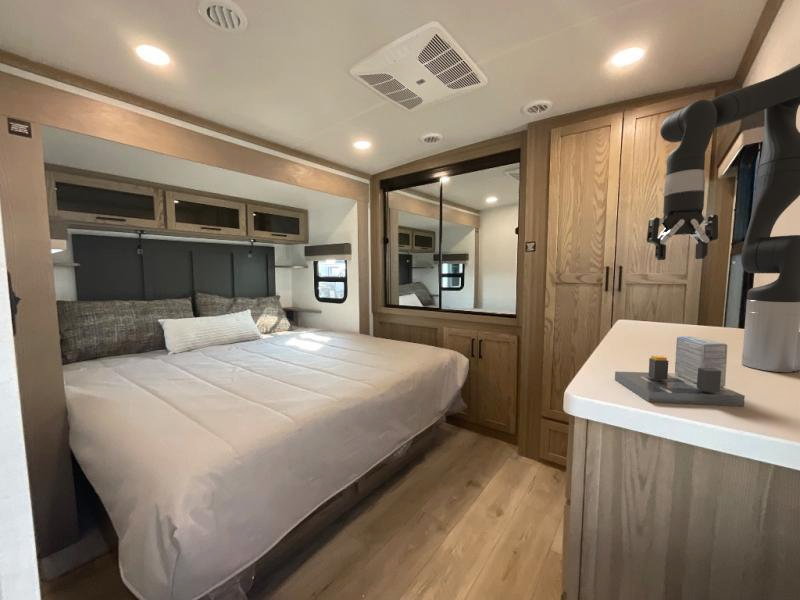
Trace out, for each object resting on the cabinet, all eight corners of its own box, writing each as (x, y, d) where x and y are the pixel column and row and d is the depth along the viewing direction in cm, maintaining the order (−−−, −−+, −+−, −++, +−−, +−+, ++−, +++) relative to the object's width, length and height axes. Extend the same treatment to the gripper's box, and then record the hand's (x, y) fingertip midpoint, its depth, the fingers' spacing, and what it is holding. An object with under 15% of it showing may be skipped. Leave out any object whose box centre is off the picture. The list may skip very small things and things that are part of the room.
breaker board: (692, 382, 74) (693, 373, 74) (743, 406, 61) (744, 395, 61) (614, 379, 76) (615, 371, 76) (648, 402, 63) (649, 391, 63)
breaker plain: (711, 388, 64) (712, 368, 63) (719, 392, 62) (721, 371, 61) (696, 387, 64) (698, 367, 64) (704, 391, 62) (706, 370, 62)
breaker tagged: (661, 376, 71) (662, 355, 70) (667, 379, 69) (668, 358, 68) (648, 376, 71) (649, 355, 71) (654, 379, 69) (655, 357, 69)
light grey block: (725, 387, 65) (729, 344, 64) (700, 386, 66) (703, 343, 65) (696, 375, 73) (698, 336, 72) (673, 374, 73) (676, 335, 73)
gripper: (705, 194, 83) (701, 259, 85) (642, 197, 85) (640, 260, 87) (729, 187, 76) (725, 258, 77) (660, 190, 78) (657, 259, 80)
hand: (680, 259), depth 82 cm, fingers open, 8 cm apart
